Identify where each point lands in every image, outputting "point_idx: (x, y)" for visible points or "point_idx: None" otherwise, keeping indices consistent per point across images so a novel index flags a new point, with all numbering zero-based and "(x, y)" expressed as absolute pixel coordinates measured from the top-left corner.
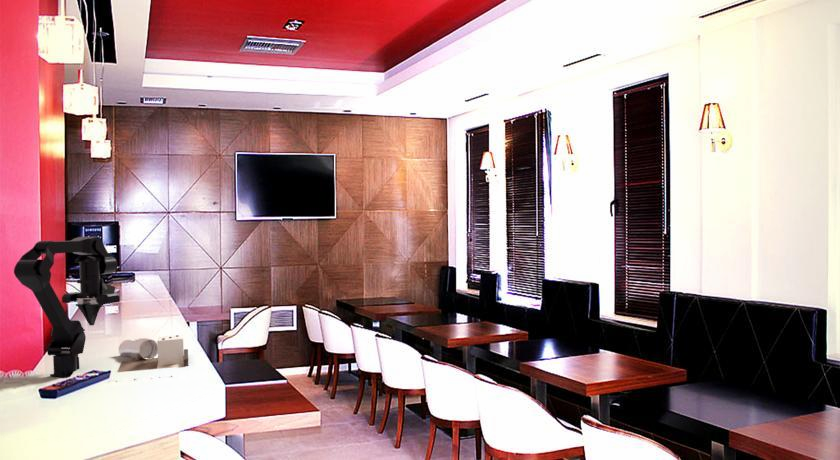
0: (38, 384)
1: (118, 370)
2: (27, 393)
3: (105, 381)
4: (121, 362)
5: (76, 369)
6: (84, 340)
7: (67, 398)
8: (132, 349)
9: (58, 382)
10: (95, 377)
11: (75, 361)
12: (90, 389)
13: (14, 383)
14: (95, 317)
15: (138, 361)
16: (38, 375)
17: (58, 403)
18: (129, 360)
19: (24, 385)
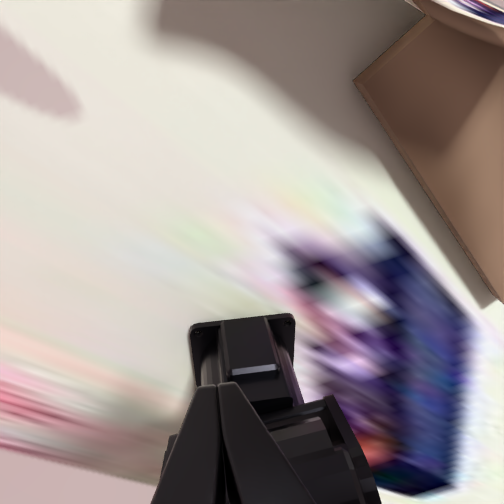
0: None
1: (494, 283)
2: None
3: (489, 357)
4: (394, 133)
5: (284, 348)
6: (360, 450)
7: (486, 478)
8: (474, 31)
9: None
10: (409, 336)
11: (298, 385)
12: (496, 422)
13: None
14: (296, 489)
15: (496, 69)
16: (124, 399)
17: (490, 499)
18: (410, 58)
19: None
